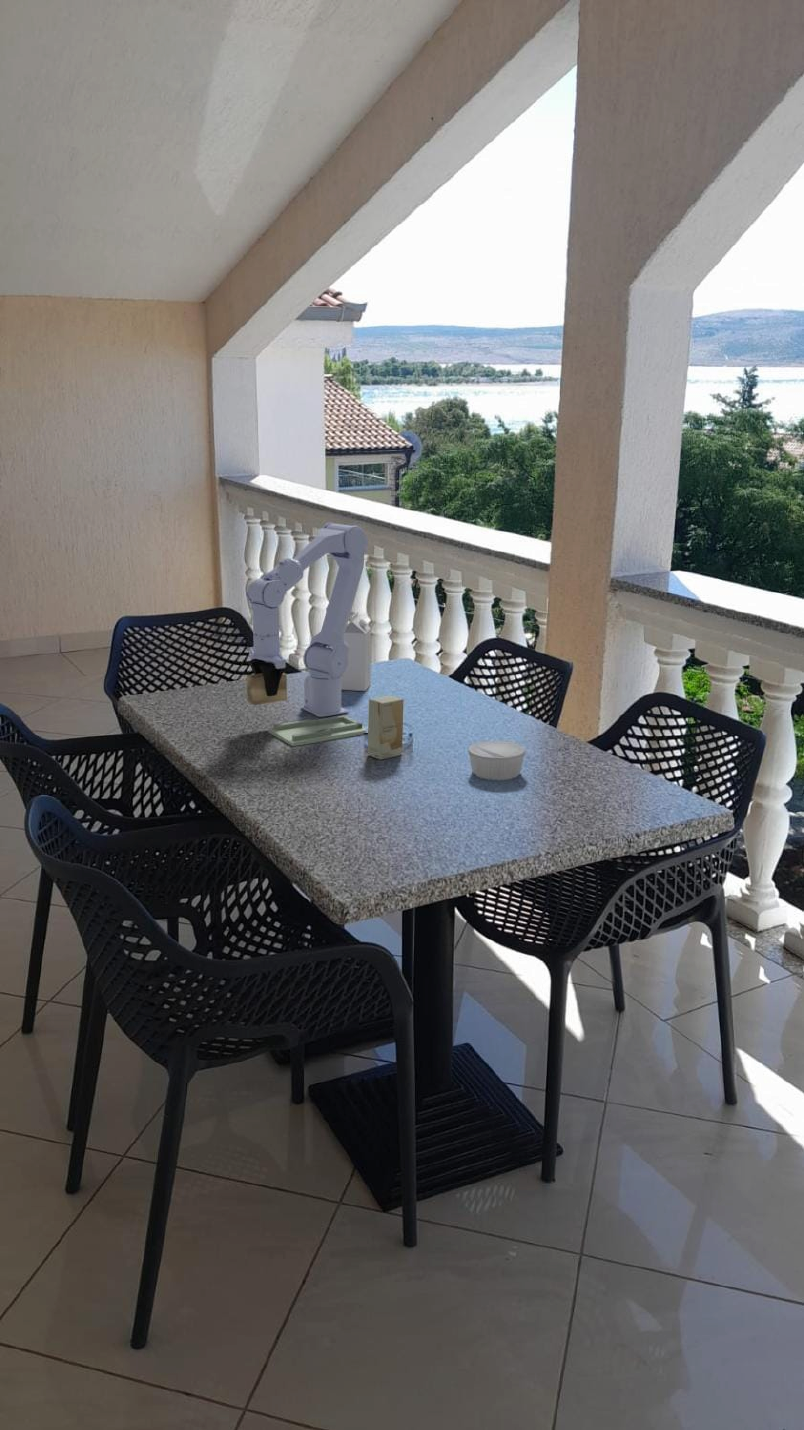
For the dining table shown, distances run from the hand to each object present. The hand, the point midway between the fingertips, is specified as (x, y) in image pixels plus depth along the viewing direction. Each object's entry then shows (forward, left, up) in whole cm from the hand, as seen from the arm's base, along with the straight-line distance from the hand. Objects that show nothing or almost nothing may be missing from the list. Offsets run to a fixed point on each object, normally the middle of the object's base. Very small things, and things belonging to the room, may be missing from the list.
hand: (267, 693), depth 249 cm
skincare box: (+31, +12, -8) cm, 34 cm away
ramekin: (+52, +25, -8) cm, 58 cm away
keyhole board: (+10, +8, -8) cm, 15 cm away
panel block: (0, 0, -2) cm, 2 cm away
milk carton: (-20, +34, -8) cm, 40 cm away
